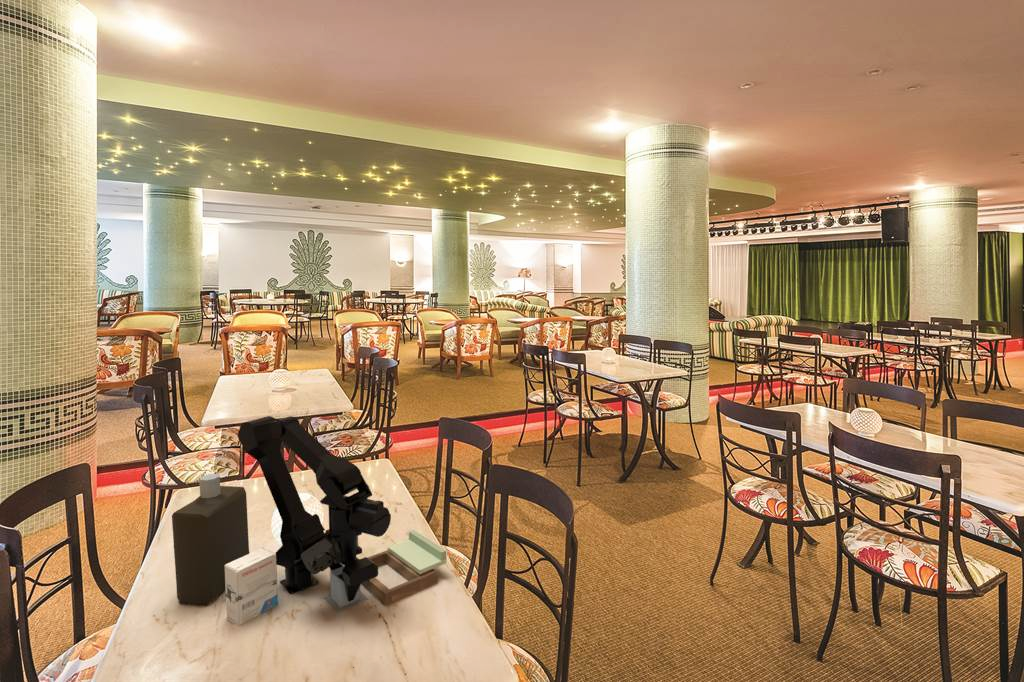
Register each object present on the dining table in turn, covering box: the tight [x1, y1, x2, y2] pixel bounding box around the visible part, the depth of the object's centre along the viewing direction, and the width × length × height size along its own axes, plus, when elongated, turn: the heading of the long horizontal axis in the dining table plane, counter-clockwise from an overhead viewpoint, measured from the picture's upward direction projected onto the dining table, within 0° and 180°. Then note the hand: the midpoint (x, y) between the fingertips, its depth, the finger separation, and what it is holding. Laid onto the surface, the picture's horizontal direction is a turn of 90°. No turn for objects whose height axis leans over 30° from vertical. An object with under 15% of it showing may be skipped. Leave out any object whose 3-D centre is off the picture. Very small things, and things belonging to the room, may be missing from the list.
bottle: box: [171, 473, 250, 607], centre depth 119 cm, size 8×16×25 cm, turn 174°
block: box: [329, 566, 361, 607], centre depth 115 cm, size 4×4×6 cm
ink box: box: [225, 547, 279, 626], centre depth 110 cm, size 9×5×12 cm, turn 147°
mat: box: [322, 591, 369, 613], centre depth 115 cm, size 7×7×1 cm
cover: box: [387, 529, 447, 574], centre depth 126 cm, size 14×7×3 cm, turn 43°
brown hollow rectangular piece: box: [360, 549, 438, 606], centre depth 123 cm, size 16×13×3 cm
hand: (345, 595), depth 115 cm, fingers closed on block, 4 cm apart
